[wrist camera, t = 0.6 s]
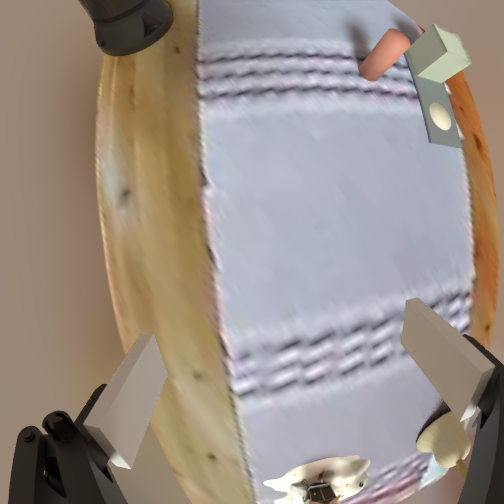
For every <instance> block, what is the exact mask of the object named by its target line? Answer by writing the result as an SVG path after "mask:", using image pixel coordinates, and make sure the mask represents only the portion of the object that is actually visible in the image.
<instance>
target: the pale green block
mask: <svg viewBox="0 0 504 504" xmlns="http://www.w3.org/2000/svg"><path fill="white" fill-rule="evenodd" d="M407 51H408V53H409V56H410V58H411V61H412V63H413V66H414V69H415V72H416V74H417V76H419V77H423V78H426V79H429V80H432V81H435V82H439V83H442V82H444V81H445V80H447V79H448V78H450V77H451V76H453V75H454V74H456V73H457V72H459V71H461V70H462V69H463V68H465V67H467V66H468V65H470V64H471V63H472V62H471V60H470V58H469V56H468V54H467V51H466V49H465V47H464V45H463V43H462V41H461V39H460V37H459V36H458V35H457V34H455V33H453V32H451V31H449V30H447V29H444V28H442V27H440V26H438V25H435V24H433V25H431V26H430V27H429V28H428V29H427V31H425V32H424V33H423V34H422V35H421V36H420V37H419V38H418V39H417V40H416V41H415V42H414V43H413V44H412V45H411V46H410V47H409V48H408V49H407Z"/></svg>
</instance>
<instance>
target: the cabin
mask: <svg viewBox="0 0 504 504" xmlns="http://www.w3.org/2000/svg"><path fill="white" fill-rule="evenodd" d="M369 464H370V460H367V459H361V458H360V457H359V456H357V455H353V456H347V457H331V458H326V459H322V460H318V461H315V462H311V463H308V464H305V465H302V466H299V467H296V468H294V469H292V470H290V471H289V472H288V473H287V474H286V475H285V476H284V477H282V478H280V479H274V480H267V481H265V482H264V485H266V486H270V487H273V488H274V490H277V491H283V492H286V493H287V494H288V495H287V496H286V497H284V498H282V499H279V500H276V501H275V504H337V502H338V501H340V500H342V499H344V498H347V497H349V496H352V495H355V494H356V493H358V492H359V491H360V490H361V489H362V488H363V486H364V485H365V484H366V482H367V481H368V476H367V474H366V472H365V471H366V469H367V467H368V466H369Z"/></svg>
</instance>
